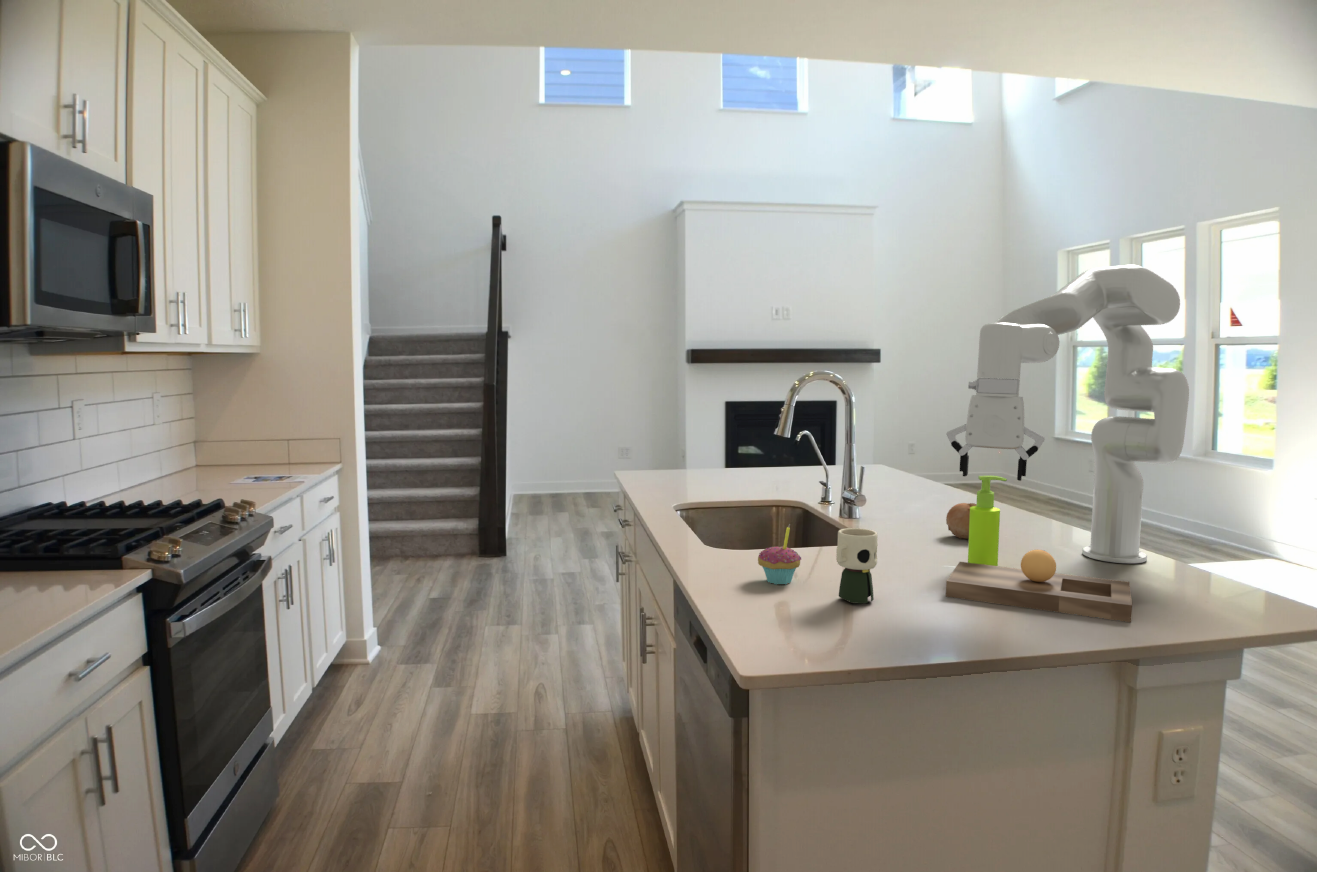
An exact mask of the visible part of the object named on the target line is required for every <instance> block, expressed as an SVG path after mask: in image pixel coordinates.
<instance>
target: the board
mask: <svg viewBox="0 0 1317 872" xmlns="http://www.w3.org/2000/svg"><path fill="white" fill-rule="evenodd" d="M948 576H949V577H948V578H947V579H946V581H945V582H946V584H945V597H948V598H954V599H961V600H970V601H975V602H976V601H977V602H983V603H990V604H997V605H1005V606H1010V607H1011V606H1012V607H1018V608H1019V607H1020V608H1025V609H1033V610H1039V611H1046V612H1053V611H1055V612H1054V613H1060V612H1061V614H1066V615H1074V614H1077V615H1076V616H1081V615H1082V617H1088V616H1089V617H1091V618H1095V617H1099V618H1098V619H1102V618H1104V620H1110V621H1117V620H1120V621H1119V622H1124V621H1125V623H1132V612H1133V603H1132V602H1133V601H1132V594H1131V593H1132V592H1131V585H1130V581H1126V580H1125V581H1124V580H1116V579H1107V578H1099V577H1093V576H1084V575H1083V576H1082V575H1074V574H1067V573H1066V574H1065V573H1058V572H1055V574H1054V575H1053V577H1052V578H1050V579H1049V580H1047V581H1044V582H1035V581H1032V580H1030V579H1029V578H1027V577H1026V576H1025V575H1024V573H1023V572H1022V569H1021V568H1016V567H1015V568H1014V567H1007V566H999V565H998V566H992V565H984V564H976V563H968V561H967V562H966V561H958V564H957V565H956V566H955V568H954V569H953V571H952V572H951V573H950V575H948Z"/></svg>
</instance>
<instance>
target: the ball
mask: <svg viewBox="0 0 1317 872" xmlns="http://www.w3.org/2000/svg"><path fill="white" fill-rule="evenodd" d="M1020 569H1022V572H1023V573H1024V575H1025V576H1026V577H1027V578H1029V579H1030V580H1032V581H1035V582H1044V581H1047V580H1049V579H1050V578H1052V577H1053V575H1054V574H1055V573H1057V572H1056V571H1057V563H1056V560H1055V558H1054V557H1053V556H1052V554H1051V553H1050V552H1047V551H1045V550H1043V549H1031V550H1029V551H1028V552H1026V553H1025V554H1024V555H1023V556H1022V558H1021V560H1020Z"/></svg>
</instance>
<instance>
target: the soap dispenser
mask: <svg viewBox="0 0 1317 872" xmlns="http://www.w3.org/2000/svg"><path fill="white" fill-rule="evenodd" d="M977 479H978V480H979V481H981V488H980V489H979V490H977V491H976V503H975V504H976V506H972V507H970V520H969V539H968V545H967V546H968V547H967V548H968V549H967V563H976V564H984V565H992V566H999V564H998V563H999V543H1000V521H1001V520H1000V519H1001V508H998V507H996V506H995V491H993V490H991V481H1002V482H1007V480H1008V479H1007V478H1006V477H1002V476H999V475H978V478H977Z"/></svg>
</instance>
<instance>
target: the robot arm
mask: <svg viewBox="0 0 1317 872" xmlns="http://www.w3.org/2000/svg"><path fill="white" fill-rule="evenodd" d="M1180 306H1181V299H1180V295H1179V292H1178V290H1177V289H1176V287H1175V286H1174V285H1172V283H1170V282H1169V281H1167V280H1166V279H1164V278H1163V277H1162V276H1159V275H1158V274H1157V273H1155V272H1154V271H1152V270H1151V269H1148V268H1146V267H1143V266H1141V265H1137V264H1125V265H1124V264H1123V265H1112V266H1102V267H1095V268H1090V269H1087V270H1085V271H1083V272H1081V273H1080V274H1078V275H1077V276H1076V277H1075V278H1073V279H1072V280H1071V281H1070V282H1068V283H1067V284H1065V285H1064V286H1063V287H1061V288H1060V289H1058V291H1056V292H1055V293H1054V294H1052V295H1049V296H1047V297H1043V298H1042V299H1039V300H1036V301H1033V302H1031V303H1029V304H1025V305H1023V306H1021V307H1019V308H1017V309H1013V310H1011V311H1010V312H1007V313H1006V314H1004V315H1002V316H1001V317H1000V318H998V319H997V320H995V321H994V322H991V323H986V324H983V325H982V326H981V328H980V331H979V338H978V339H979V340H978V355H977V356H978V357H977V372H976V379H975V380H974V381H973V380H972V381H968V387H967V388H968V389H969V390H971V389H972V390H974V391H975V394H972V395H971V397H970V400H969V404H968V410H967V417H966V424H962V425H961V426H958V427H955V428H953V429H951V430H948V431H947V432H946V437H947V439H948V441H949V443H950V446H951V447H952V448H953V449H954V450H955V451H956V452H957V453H958V455H959V456H960V458H959V472H962V477H967V476H968V475H969V462H970V455H968V454H969V453H968V452H969V451H970V450H971V449H973V448H985V449H999V450H1000V449H1001V450H1015V451H1016V453H1017V454H1018V455H1019V458H1018V460H1017V462H1018V463H1017V475H1016V476H1017V477H1016V480H1017V481H1018V482H1021V481H1022V477H1026V475H1027V463H1028V462H1027V461H1028V459H1030V458H1031V457H1032V456H1033V455H1034V454H1036V453H1037V452H1038V450H1039V449H1040V448H1041V447H1042V445H1043V443H1044V442H1045V440H1046V438H1045V436H1043V435H1041V434H1039V433H1038V432H1036V431H1035V430H1032V429H1030V428H1029V427H1026V425H1025V405H1024V404H1025V402H1024V397H1023V396H1019V395H1020V385H1021V383H1020V381H1021V367H1022V364H1041V363H1045V362H1048V361H1050V360H1051V359H1053V358H1054V357H1055V356H1056V354H1057V353H1058V351H1059V348H1060V338H1059V336H1060V335H1064V334H1067V333H1071V332H1074V331H1076V330H1079V329H1080V328H1082V327H1083V326H1085V324H1086V323H1088V322H1089V321H1090V320H1091V319H1092V318H1093V320H1094V321H1095V322H1096V324H1097V325H1098V326H1099V327H1100V329H1101V332H1102V333H1103V334H1104V337H1105V339H1106V342H1107V362H1106V371H1105V372H1106V373H1105V382H1104V390H1103V392H1104V394H1103V395H1104V402H1105V404H1106V405H1107V406H1108V407H1109V408H1111V409H1114V410H1118V411H1125V412H1126V411H1127V412H1128V411H1129V412H1141V413H1142V412H1144V413H1153V414H1154V415H1153V416H1154V417H1153V418H1147V417H1145V418H1144V417H1134V416H1107V417H1103V418H1101V419H1099V420H1098V421H1097V422H1095V424H1094V426H1093V428H1092V431H1091V435H1090V436H1091V437H1090V438H1091V447H1092V454H1093V461H1094V462H1093V463H1094V465H1093V467H1094V472H1093V473H1094V475H1093V493H1092V509H1091V510H1092V511H1091V513H1092V514H1091V530H1090V545H1087V546H1084V547H1083V548H1082V549H1081V551H1082V552H1081V553H1082V555H1084V557H1087V558H1090V559H1093V560H1097V561H1102V562H1107V563H1114V564H1115V563H1118V564H1142V563H1145V562H1146V561H1147V560H1148V555H1147V554H1146V553H1145V552H1143V551H1140V541H1141V526H1142V512H1143V511H1142V510H1143V508H1142V507H1143V498H1144V497H1143V496H1144V480H1143V475H1142V474H1141V471H1140V469H1139V468H1138V466H1137V464H1136V463H1135V462H1137V463H1139V462H1140V463H1147V464H1155V465H1156V464H1158V465H1168V464H1172V463H1175V461H1177V460H1178V459H1179V458H1180V456H1181V454H1182V452H1183V451H1182V450H1183V448H1184V444H1185V443H1184V442H1185V441H1184V440H1185V435H1186V425H1187V417H1188V409H1189V400H1190V387H1189V383H1188V379H1187V376H1185V374H1184V373H1183V372H1181V370H1178V369H1175V368H1169V367H1153V355H1154V353H1153V352H1154V345H1153V341H1152V339H1151V337H1150V336H1149V334H1148V332H1147V331H1146V330H1145V329H1144V327H1143V326H1158V325H1164V324H1167V323H1170V322H1171V321H1173V320H1175V318H1176V316H1177V315H1178V313H1179V311H1180ZM962 433H965V438H964V439H965V440H964V441H965V445H964V446H962V444H960V442H959V441H958V439H957V437H956V436H957V435H959V434H962ZM1025 436H1027V437H1029V438H1031V439H1033V440H1034V442H1033V444H1032V445H1031V446H1030V447H1029V448H1027V450H1026V449H1025V448H1024V446H1023V445H1024V439H1025V438H1024V437H1025Z"/></svg>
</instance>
